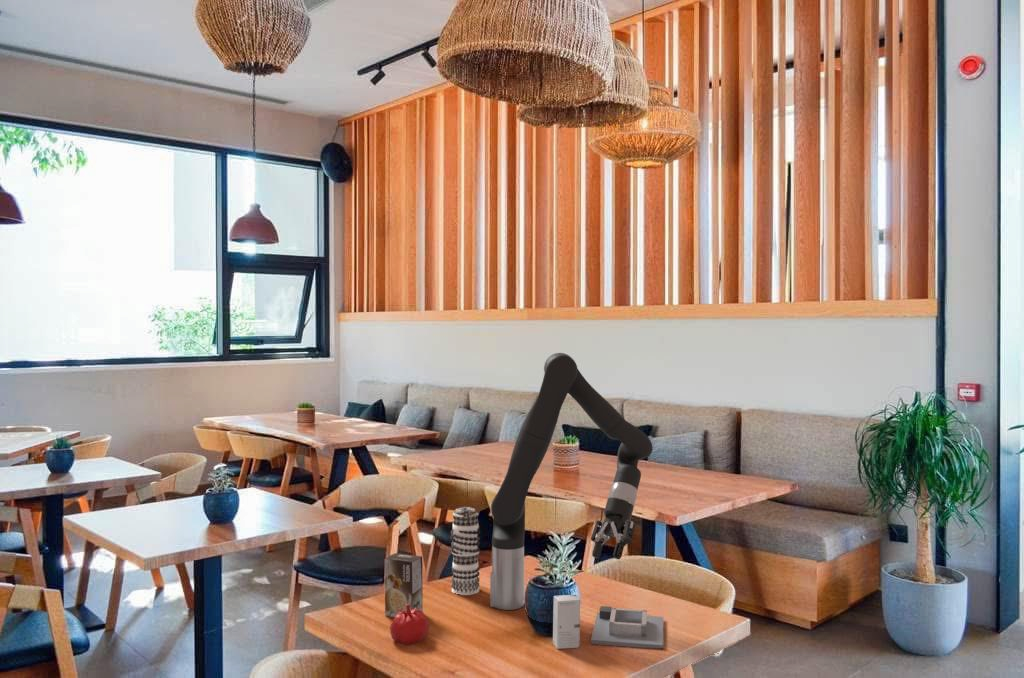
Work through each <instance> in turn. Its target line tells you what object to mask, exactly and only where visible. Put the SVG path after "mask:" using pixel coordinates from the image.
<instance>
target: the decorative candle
mask: <svg viewBox="0 0 1024 678" xmlns="http://www.w3.org/2000/svg"><path fill="white" fill-rule="evenodd" d="M479 514H480V513H479V512H478V511H477V510H476V509H475V508H474V507H472V506H461V507H456V508H455V510H454V511H453V512H452V513H451V515H452V516H453V517H452V521H453V522H452V530H450V540H451V541H452V542H451V544H450V545H451V548H450V551H451V554H452V555H453V556H452V557H453V558H452V559H453V560H452V566H451V576H452V578H451V580H450V581H451V586H450V587H451V592H452V594H454V593H456V594H455V595H457V594H460V595H459V596H470V595H471V596H472V595H476V594H478V593H479V592H480V588H479V587H480V577H479V576H480V572H479V571H480V567H479V560H478V559H479V558H478V557H479V554H480V548H479V547H478V546H480V545H481V542H480V541H479V540H481V537H480V536H479V535H480V533H481V530H480V529H481V525H479V519H478V518H479Z"/></svg>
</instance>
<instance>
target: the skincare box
mask: <svg viewBox="0 0 1024 678" xmlns="http://www.w3.org/2000/svg"><path fill="white" fill-rule="evenodd" d="M552 607H553V609H552V610H553V611H552V617H553V618H552V619H553V621H552V644H553V645H554V647H555V648H556V650H561V649H564V650H565V649H574V648H575V649H576V648H579V647H580V639H581V637H580V636H581V635H580V633H581V631H580V630H581V599H580V598H579V597H578V596H577V595H576V594H563V595H553V606H552Z"/></svg>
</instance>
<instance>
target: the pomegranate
mask: <svg viewBox="0 0 1024 678" xmlns="http://www.w3.org/2000/svg"><path fill="white" fill-rule="evenodd" d="M406 607H407V611H403V610H401V609H398V610H396V611H401V612H400V613H398V614H397V615H396V617H393V620H392V622H391V624H390V626H389V629H390V636H391V638H392V640H394V641H395V642H396V643H398V644H402V645H407V646H409V645H413V644H416V643H419V642H421V641H422V640H424V638H426V636H427V635H428V633H429V629H430V622H429V619H428V618H427V616H426V615H425V612H424V611H423V612H422V611H420V610H416V609H420V608H415V609H414V610H410V604H407V605H406Z"/></svg>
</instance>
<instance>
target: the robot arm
mask: <svg viewBox="0 0 1024 678" xmlns="http://www.w3.org/2000/svg"><path fill="white" fill-rule="evenodd" d="M543 372H544V373H543V378H542V382H541V386H540V390H539V392H538V395H537V398H536V399H535V401H534V403H533V404H532V405H531V408H530V409H529V411H528V413H527V415H526V416H525V419H524V420H523V423H522V425H521V427H520V430H519V432H518V435H517V438H516V439H515V443H514V447H513V448H512V449H513V450H512V453H511V456H510V461H509V465H508V469H507V471H506V474H505V477H504V479H503V481H502V483H501V485H500V487H499V489H498V491H497V493H496V494H495V496H494V498H493V499H492V501H491V506H490V510H491V515H492V519H493V520H492V521H493V525H492V526H493V528H492V535H491V562H492V563H491V572H490V576H489V577H490V578H489V579H490V580H489V582H490V584H489V585H490V589H489V590H490V592H489V593H490V594H489V595H490V596H489V597H490V598H489V599H490V601H489V602H490V603H489V605H490V608H495V609H498V610H505V611H509V610H510V611H511V610H518V609H521V608H522V607H524V605H525V532H526V499H527V495H528V491H529V489H530V486H531V483H532V481H533V479H534V477H535V476H536V473H537V472H538V470H539V468H540V466H541V464H542V462H543V460H544V458H545V455H546V454H547V452H548V449H549V446H550V444H551V441H552V438H553V435H554V433H555V429H556V427H557V423H558V419H559V417H560V413H561V409H562V406H563V404H564V403H565V399H566V398H567V395H569V396H571V398H573V399H574V401H576V403H577V404H579V406H580V407H581V408H582V410H584V411H583V412H585V413H586V414H587V416H588V417H589V418H590V419H591V421H592V422H593V423H594V424H595V425H596V426H597V427H598V428H599V429H600V430H601V431H602V432H603V433H604V435H606V436H607V438H609V439H611V440H616V441H619V442H621V443H620V445H619V447H618V451H617V458H616V459H617V460H616V472H615V474H614V477H613V478H614V479H613V483H612V486H611V488H610V490H609V493H608V497H607V500H606V504H605V508H604V511H603V513H604V515H605V519H604V520H603V521H600V520H598V519H597V520H596V521H595V524H594V528H593V530H592V533H591V536H590V541H592V542H594V545H593V549H592V557H593V558H594V559H600V557H601V554H602V551H603V547H604V546H603V545H604V544H605V543H606V542H607V541H609V540H610V539H611V538H612V539H613V538H615V541H616V543H615V545H614V549H613V553H612V557H613V559H616V560H620V559H621V557H622V555H623V552H624V549H625V547H626V546H627V545H630V544H632V541H633V537H634V534H635V533H634V532H635V527H636V523H635V522H634V521H632V520H631V519H632V515H633V513H634V508H635V504H636V501H637V497H638V489H639V487H640V483H641V478H642V477H641V476H642V473H641V470H640V469H639V468H638V466H639V465H638V464H639V461H641V460H644V459H647V458H648V457H650V456H651V454H652V453H653V444H652V443H653V442H652V440H651V439H650V437H649V436H648V435H647V434H646V433H645V432H643V430H641V429H639V428H638V427H637V426H635V425H634V424H632V423H630V422H629V421H627V420H626V419H625V418H624V417H623V415H621V413H620V412H619V411H618V410H617V409H616V408H615V407H614V406H613V405H612V404H611V403H610V402H609V401H608V400H607V399H605V398H604V397H603V396H602V395H601V394H600V393H599V391H597V390H596V389H595V388H594V387H593V386H592V385H591V384H590V382H588V381H587V380H586V378H585V377H584V376H583V374H582V373H581V371H580V370H579V369H578V365H577V363H576V361H575V360H574V358H573V357H571V356H570V354H567V353H564V352H556V353H553V354H551V355H550V356H548V357H547V359H546V360H545V362H544V366H543Z"/></svg>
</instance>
